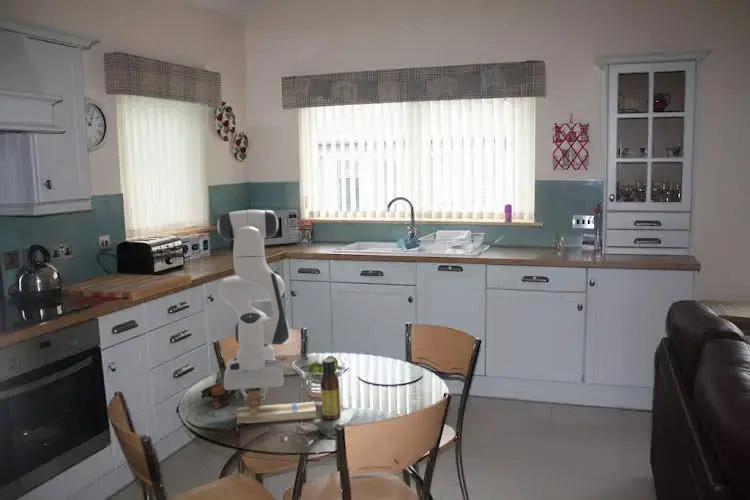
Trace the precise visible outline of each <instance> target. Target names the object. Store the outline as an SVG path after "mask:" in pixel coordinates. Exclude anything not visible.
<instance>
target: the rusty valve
mask: <svg viewBox="0 0 750 500" xmlns="http://www.w3.org/2000/svg"><path fill="white" fill-rule="evenodd" d="M236 391H237V390H230V393H229V390H226V389H225V388H224V385H222V384H221V382H217V383H215V384H212V385H211V386H208V387H205V388H204V389H202V390H201V391H200V392H201V396H200V397H201V400H203V399H205V398H212V399H213V400H216V399H217V400H216V401H215V402H213V406H214V408H215V407H219V408H221V407H224V406H227V404H228V403H229V401H231V398H233V396H234V395H235V394H236ZM228 405H229V404H228Z"/></svg>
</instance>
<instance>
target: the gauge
mask: <svg viewBox="0 0 750 500" xmlns="http://www.w3.org/2000/svg"><path fill="white" fill-rule="evenodd" d="M261 389H262V388H252V389H247V394H248V398H249V401H248V407H251V411H250V412H251V415H257V406H262V400H261V393H262V391H261Z"/></svg>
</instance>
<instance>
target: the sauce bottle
mask: <svg viewBox="0 0 750 500" xmlns="http://www.w3.org/2000/svg"><path fill="white" fill-rule="evenodd" d="M321 363H322V364H321V365H322V368H323V371H322V372H323V373H322V375H321V376H322V377H321V381H320V398H321V399H320V400H321V402H320V403H321V413H322V417H323V418H324V419H328V420H335V419H339V417H341V411H342V410H341V393H340V389H341V388H340V384H339V382H340V381H339V380H340V379H339V377H338V375H337V374H336V371H335V370H336V369H335V359H334V358H331V357H330V358H324V359H322V361H321Z"/></svg>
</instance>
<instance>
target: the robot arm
mask: <svg viewBox="0 0 750 500" xmlns="http://www.w3.org/2000/svg"><path fill="white" fill-rule="evenodd" d="M216 223H217V224H216V225H217V226H216V227H217V231H218V234H219V235H220V236H219V237H221V239H223V240H224V241H228V243H231V242H232V241H233V246H232V247H233V250H232V257H233V268H234V274H236V275H232V276H229V277H225V278H223V279H222V280H221V282H220V283H219V287H218V293H219V297H220V298H221V300H222V301H223V302H225V304H227V305H229V306H230V307H231V308H232V309H233V310H234V311H235V314H236V315H237V318H238V322H237V323H236V325H235V326H234V330H235V331H234V332H235V342H236V343H237V344H238V345H239V348H238V349H237V350H236V356H234V357H232V358H229V359H228V360H227V362H226V364H225V365H226V369H225V373H224V375H223V376H224V377H223V387H224V388H225V389H226V390H228V391H232V390H236V391H237V390H240V393H241V394H242V395H243V397H244V402H247V401H248V402H249V398H248V393H246V390H248V389H252V388H261V389H262V388H263V392H261V401H264V400H266V394H267V392H268V390H269V389H268V388H275V387H276V388H278V387H280V388H281V387H282V386H283V385H284V374H283V371H284V370H285V364H284V362H283V361H282V360H280V359H276V356H275V349H274V347H273V346H272V345H283V344H284V343H285V342H287V340H289V338H290V325H289V324H290V323H289V321H288V320H287V317H286V314H285V307H284V305H283V299H282V297H283V295H284V293H285V289H286V288H285V287H286V286H285V285H286V284H285V282H284V280H283V278H282V277H281V276H280V275H278V274H277V273H275V272H274V271H273V270H272V269H271V268H270V267H269V265H268V262H267V260H266V252H265V238H266V239H270V238H271V239H272V238H273V237H275V236H276V235H277V232H278V230H279V224H280V223H279V218H278V216H277V214H276V212H275V211H273V210H272V209H271V210H270V209H264V210H263V209H247V210H244V209H242V210H235V211H226V212H221V214H220V215H219V217H218V219H217V222H216ZM262 302H263V303H264V302H270V304H271V309H272V315H271V316H267V314H266V313H265V312H264V311H262V310H259V309H257V308H255V307H253V306H252V305H251V304H252V303H262Z"/></svg>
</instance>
